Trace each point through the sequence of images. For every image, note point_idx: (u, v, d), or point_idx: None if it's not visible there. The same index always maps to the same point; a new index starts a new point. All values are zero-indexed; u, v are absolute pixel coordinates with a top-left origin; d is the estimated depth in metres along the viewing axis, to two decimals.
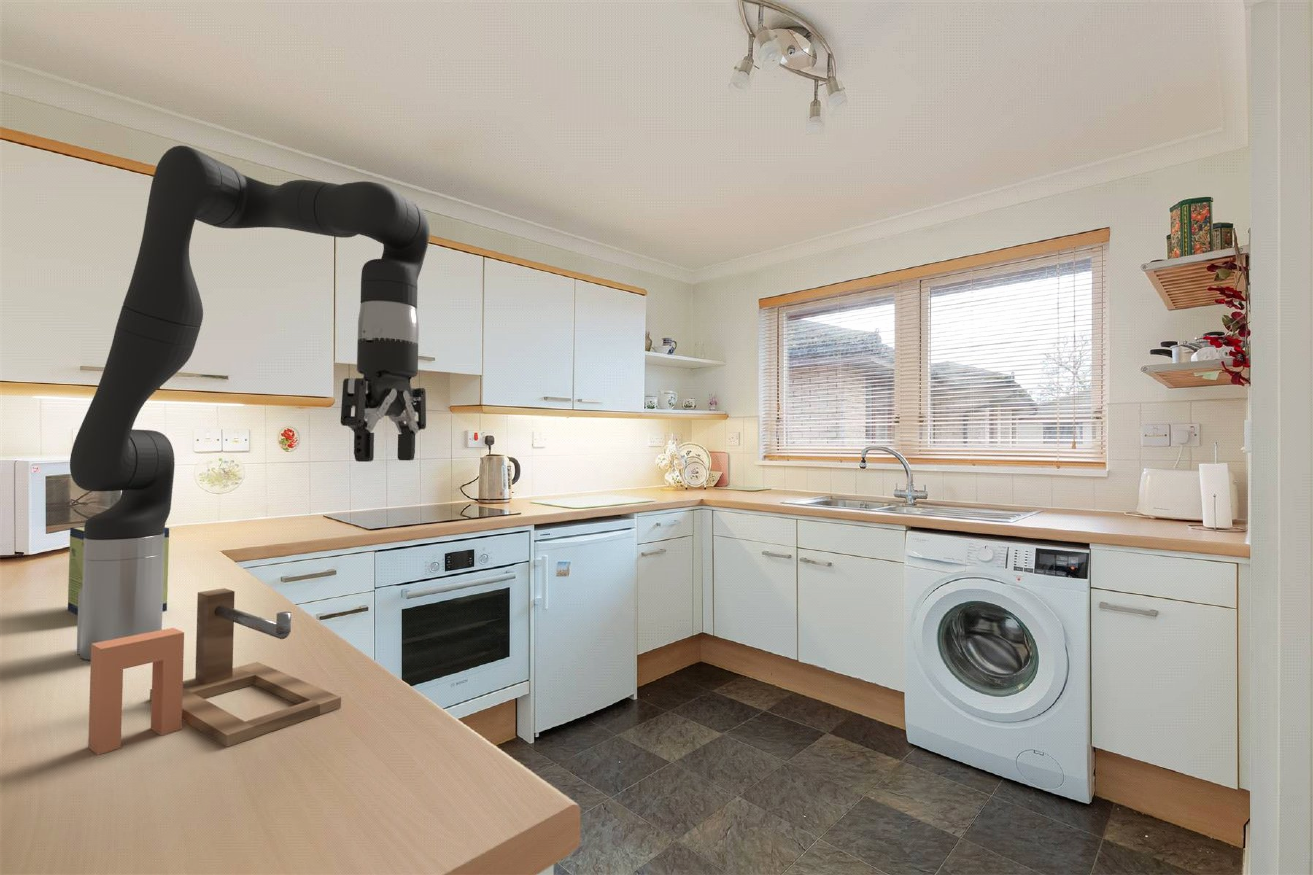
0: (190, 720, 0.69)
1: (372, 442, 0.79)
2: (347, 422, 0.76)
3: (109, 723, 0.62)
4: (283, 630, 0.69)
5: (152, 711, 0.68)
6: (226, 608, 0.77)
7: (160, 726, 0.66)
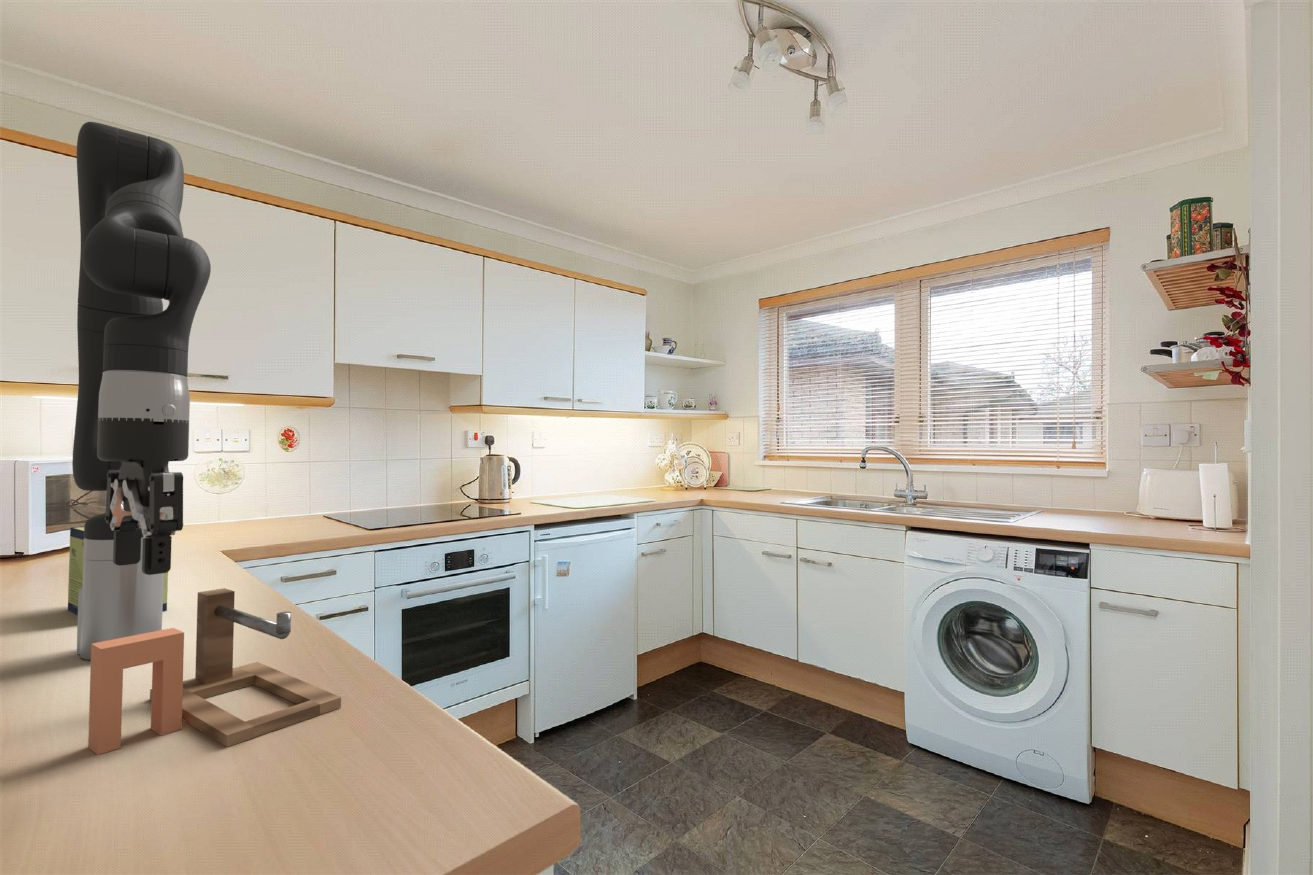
0: (190, 720, 0.69)
1: (169, 548, 0.64)
2: (164, 528, 0.62)
3: (109, 723, 0.62)
4: (283, 630, 0.69)
5: (152, 711, 0.68)
6: (226, 608, 0.77)
7: (160, 726, 0.66)
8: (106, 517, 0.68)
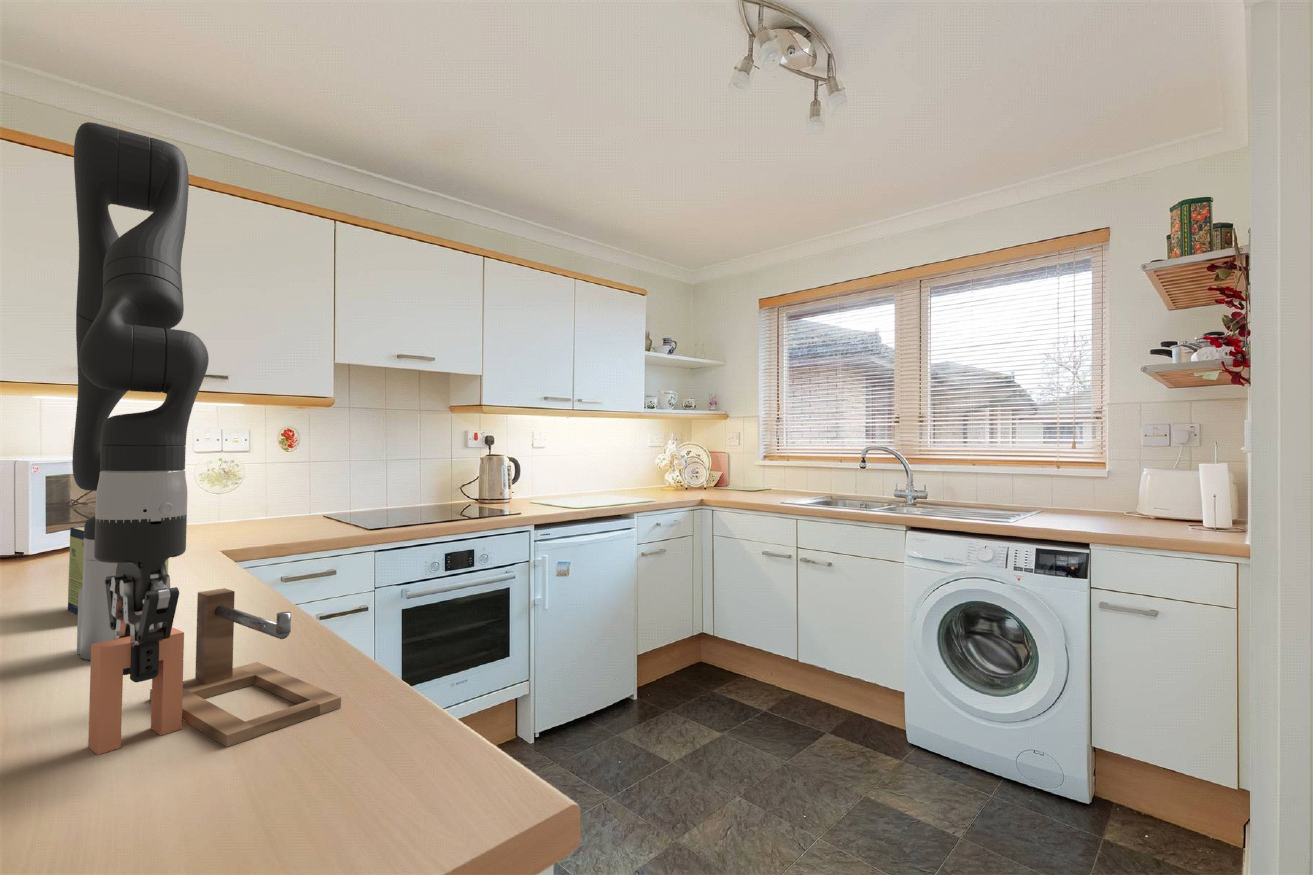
0: (190, 720, 0.69)
1: (157, 653, 0.66)
2: (151, 640, 0.63)
3: (109, 723, 0.62)
4: (283, 630, 0.69)
5: (152, 711, 0.68)
6: (226, 608, 0.77)
7: (160, 726, 0.66)
8: (111, 623, 0.67)
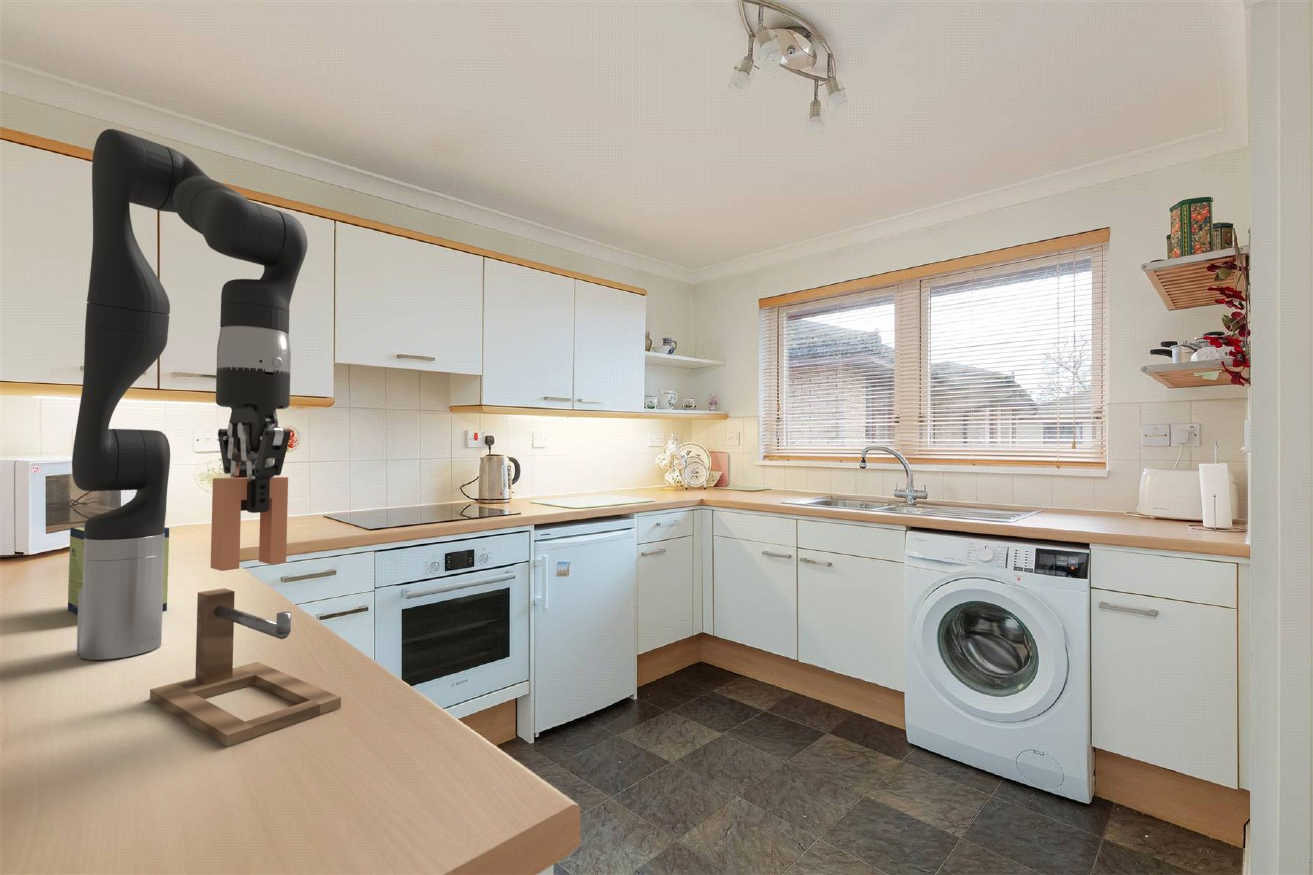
0: (190, 720, 0.69)
1: None
2: (266, 474, 0.72)
3: (231, 545, 0.72)
4: (283, 630, 0.69)
5: (260, 546, 0.77)
6: (226, 608, 0.77)
7: (269, 556, 0.75)
8: (225, 467, 0.76)
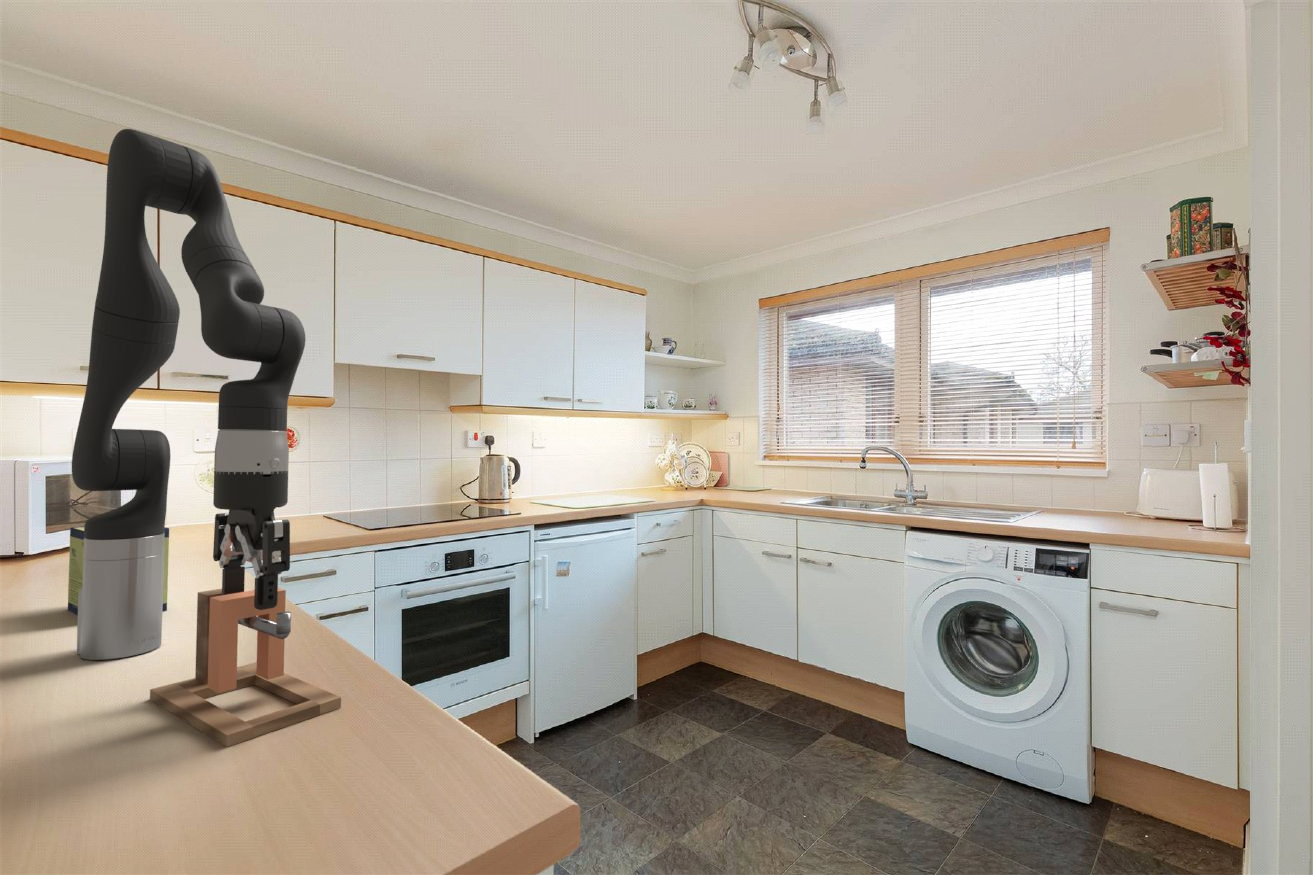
0: (190, 720, 0.69)
1: None
2: (275, 569, 0.70)
3: (228, 666, 0.71)
4: (283, 630, 0.69)
5: (258, 659, 0.76)
6: None
7: (267, 672, 0.75)
8: (214, 555, 0.77)
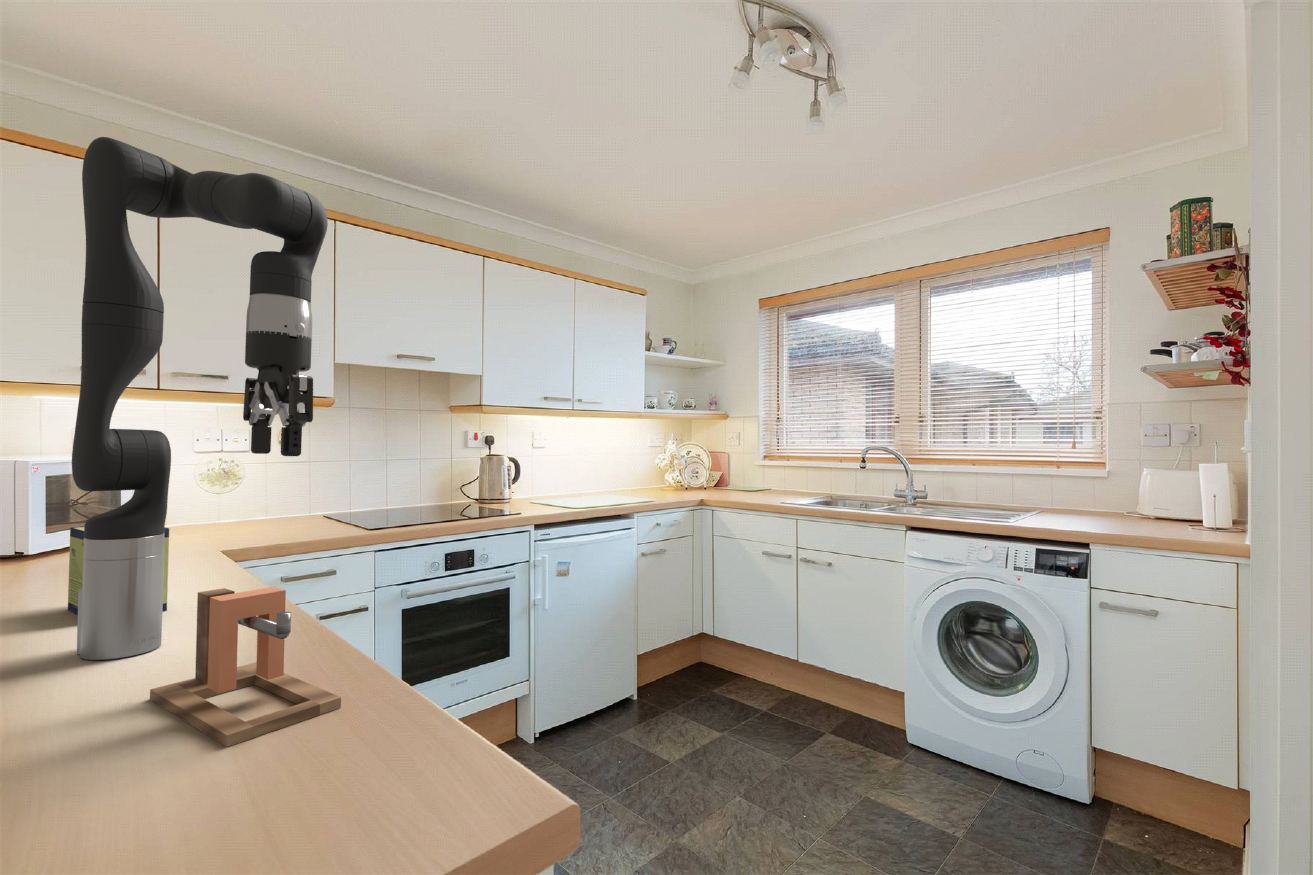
0: (190, 720, 0.69)
1: None
2: (300, 418, 0.78)
3: (227, 666, 0.71)
4: (283, 630, 0.69)
5: (257, 659, 0.76)
6: None
7: (267, 672, 0.75)
8: (244, 415, 0.85)
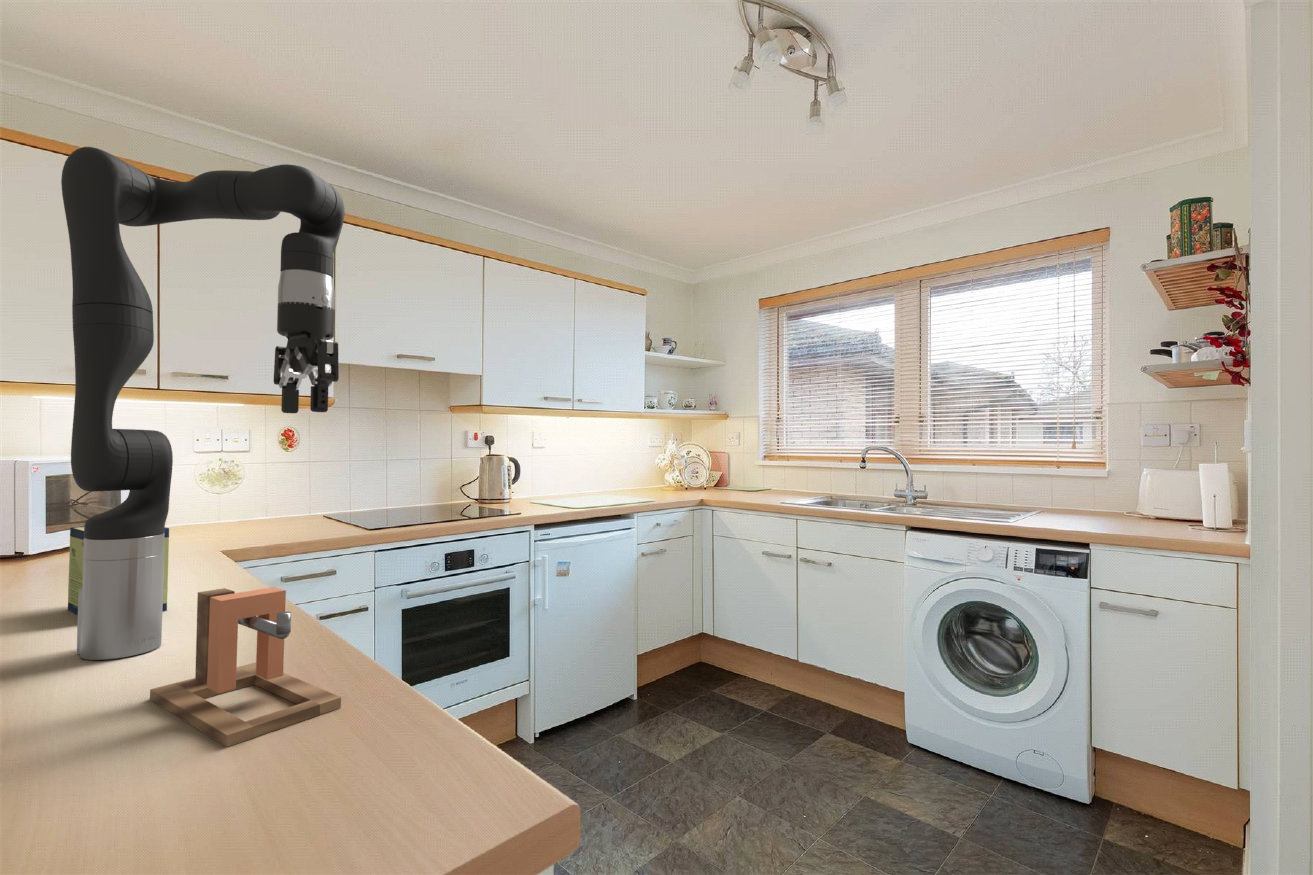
0: (190, 720, 0.69)
1: None
2: (327, 377, 0.89)
3: (227, 666, 0.71)
4: (283, 630, 0.69)
5: (257, 660, 0.76)
6: None
7: (266, 672, 0.75)
8: (275, 379, 0.96)
